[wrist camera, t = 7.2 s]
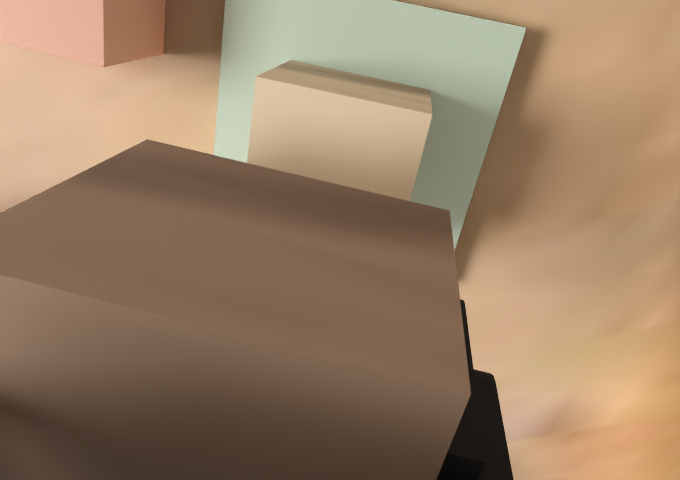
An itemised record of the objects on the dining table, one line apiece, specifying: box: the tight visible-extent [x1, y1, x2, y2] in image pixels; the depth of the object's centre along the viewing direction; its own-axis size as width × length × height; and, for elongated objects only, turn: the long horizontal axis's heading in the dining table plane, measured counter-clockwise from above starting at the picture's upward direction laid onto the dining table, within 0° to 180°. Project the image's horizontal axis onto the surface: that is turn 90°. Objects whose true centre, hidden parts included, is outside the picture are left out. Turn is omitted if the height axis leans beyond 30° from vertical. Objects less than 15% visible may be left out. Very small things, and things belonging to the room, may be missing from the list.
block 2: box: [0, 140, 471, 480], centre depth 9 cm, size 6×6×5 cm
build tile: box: [214, 0, 526, 251], centre depth 23 cm, size 12×12×1 cm
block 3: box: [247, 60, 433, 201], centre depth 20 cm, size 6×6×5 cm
